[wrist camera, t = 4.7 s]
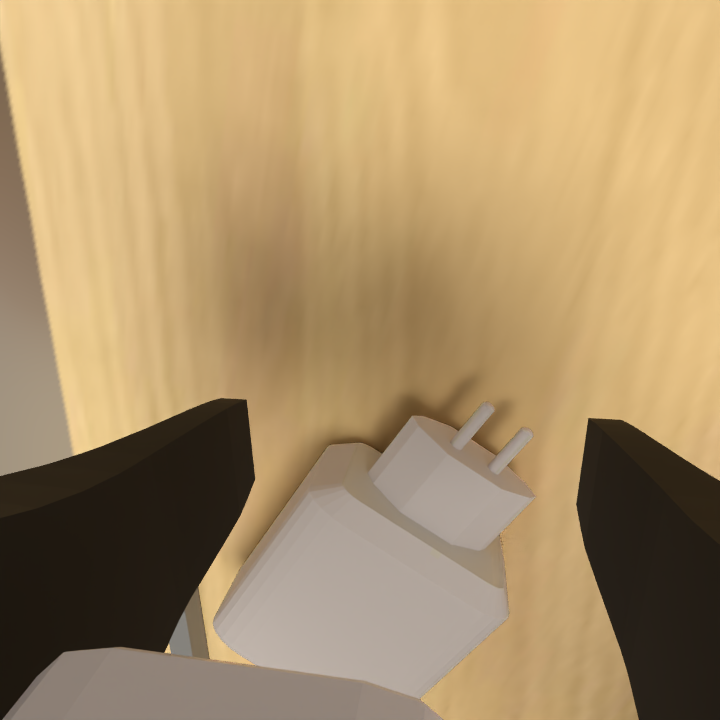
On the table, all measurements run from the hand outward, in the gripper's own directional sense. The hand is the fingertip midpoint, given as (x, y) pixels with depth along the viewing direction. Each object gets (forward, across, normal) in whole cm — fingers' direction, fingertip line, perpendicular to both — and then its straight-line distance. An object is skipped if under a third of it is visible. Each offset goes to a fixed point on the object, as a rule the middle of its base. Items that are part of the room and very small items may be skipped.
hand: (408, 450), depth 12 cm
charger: (+11, +1, +10) cm, 15 cm away
